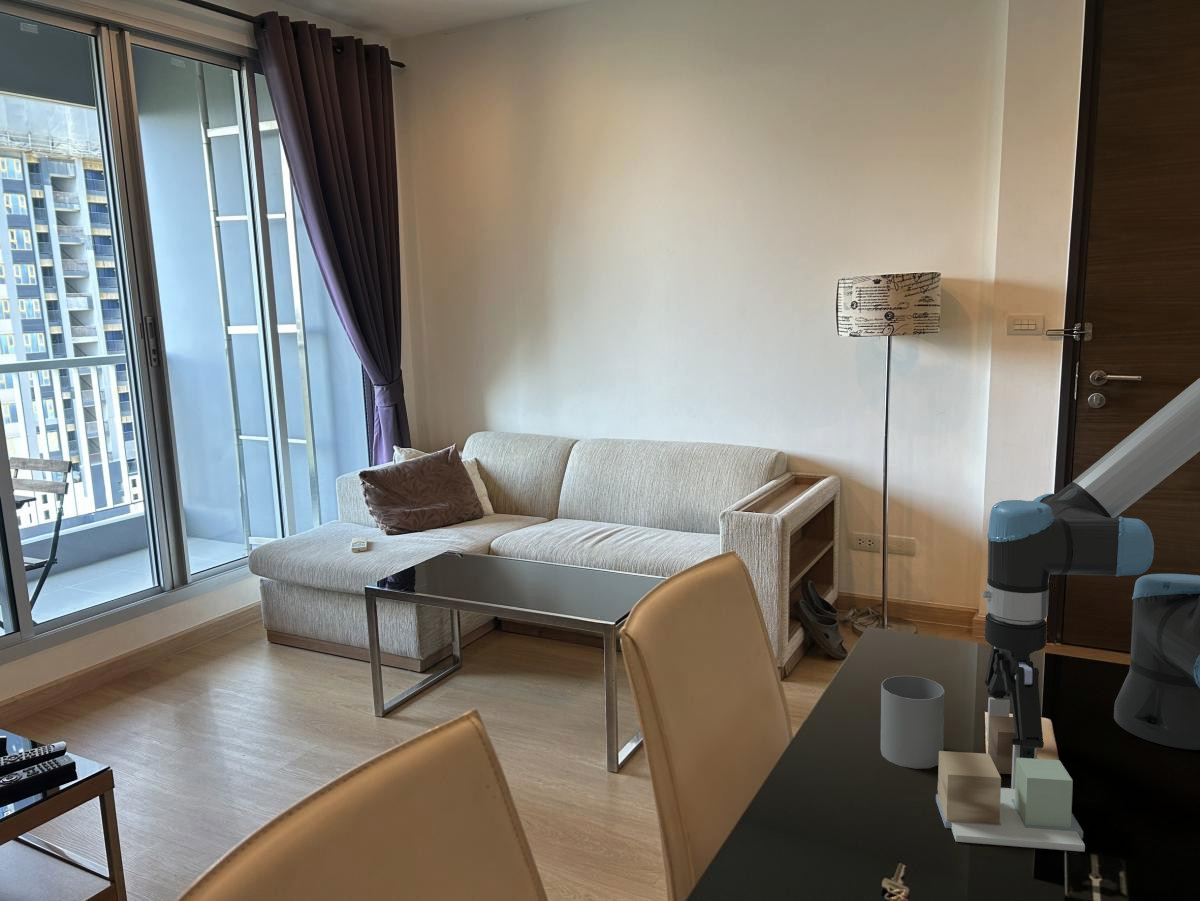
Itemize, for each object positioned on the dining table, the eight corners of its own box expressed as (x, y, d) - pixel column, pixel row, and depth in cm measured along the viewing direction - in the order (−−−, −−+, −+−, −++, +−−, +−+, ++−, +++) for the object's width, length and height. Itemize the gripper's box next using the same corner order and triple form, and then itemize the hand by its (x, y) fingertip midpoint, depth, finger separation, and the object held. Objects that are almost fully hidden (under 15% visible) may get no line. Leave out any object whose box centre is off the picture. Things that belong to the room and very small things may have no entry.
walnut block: (1025, 758, 123) (1027, 717, 122) (1036, 776, 118) (1037, 734, 118) (987, 755, 124) (989, 715, 123) (996, 773, 119) (997, 731, 119)
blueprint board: (1058, 797, 113) (1058, 791, 113) (1091, 852, 101) (1091, 845, 101) (932, 788, 116) (932, 782, 116) (949, 841, 104) (949, 834, 104)
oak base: (987, 798, 112) (989, 753, 111) (999, 824, 106) (1001, 777, 105) (937, 795, 113) (938, 750, 112) (946, 820, 107) (947, 774, 106)
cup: (947, 770, 120) (949, 701, 119) (884, 766, 122) (885, 698, 121) (936, 742, 129) (938, 677, 127) (878, 738, 130) (878, 674, 129)
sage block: (1057, 805, 109) (1059, 760, 109) (1070, 827, 105) (1072, 780, 104) (1014, 802, 110) (1016, 757, 110) (1025, 824, 106) (1027, 777, 105)
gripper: (966, 587, 131) (962, 722, 134) (1010, 647, 107) (1003, 810, 110) (1020, 589, 130) (1014, 725, 133) (1077, 650, 106) (1068, 815, 109)
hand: (1009, 764), depth 121 cm, fingers open, 13 cm apart
